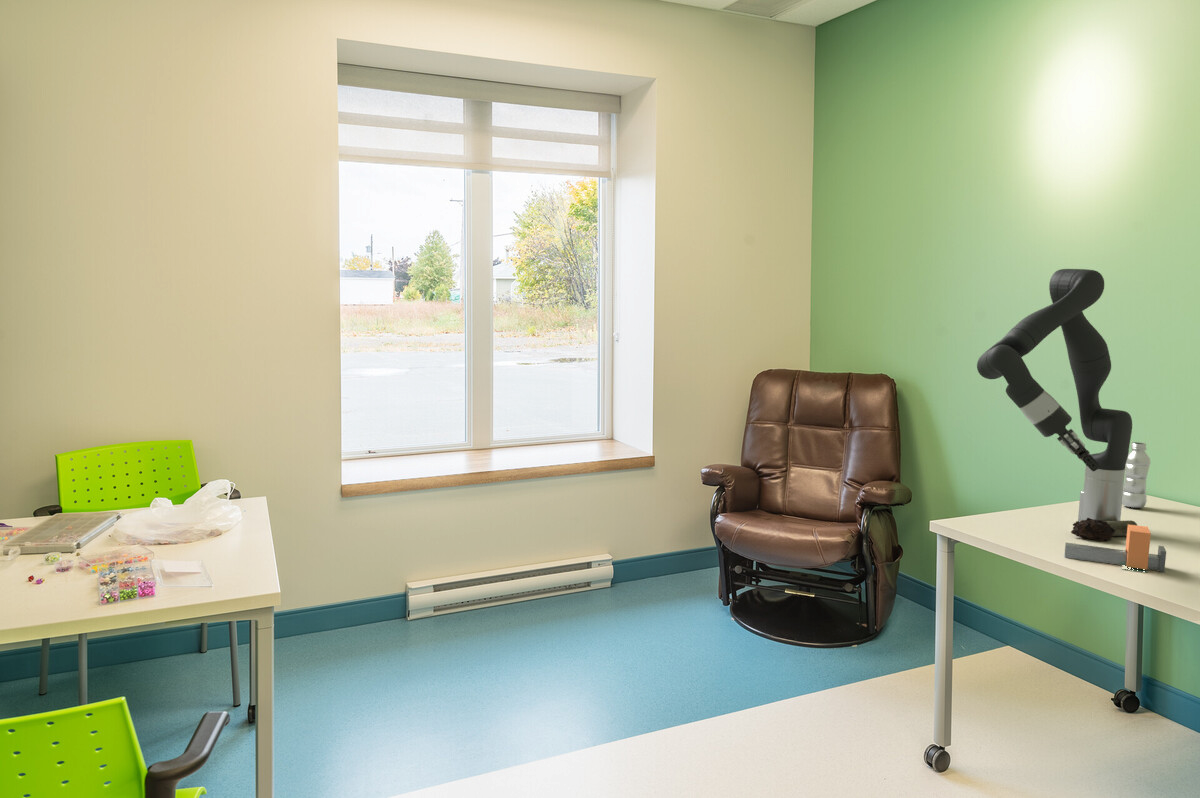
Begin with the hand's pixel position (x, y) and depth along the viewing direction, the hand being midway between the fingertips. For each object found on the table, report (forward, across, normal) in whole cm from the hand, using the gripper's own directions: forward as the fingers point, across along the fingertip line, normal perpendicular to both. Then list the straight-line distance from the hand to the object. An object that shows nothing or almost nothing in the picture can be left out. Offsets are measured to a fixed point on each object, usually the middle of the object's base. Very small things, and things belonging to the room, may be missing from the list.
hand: (1096, 468), depth 194 cm
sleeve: (+23, -2, +8) cm, 24 cm away
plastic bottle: (+31, +65, 0) cm, 72 cm away
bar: (+20, -1, +12) cm, 23 cm away
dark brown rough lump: (+22, +23, +10) cm, 33 cm away
